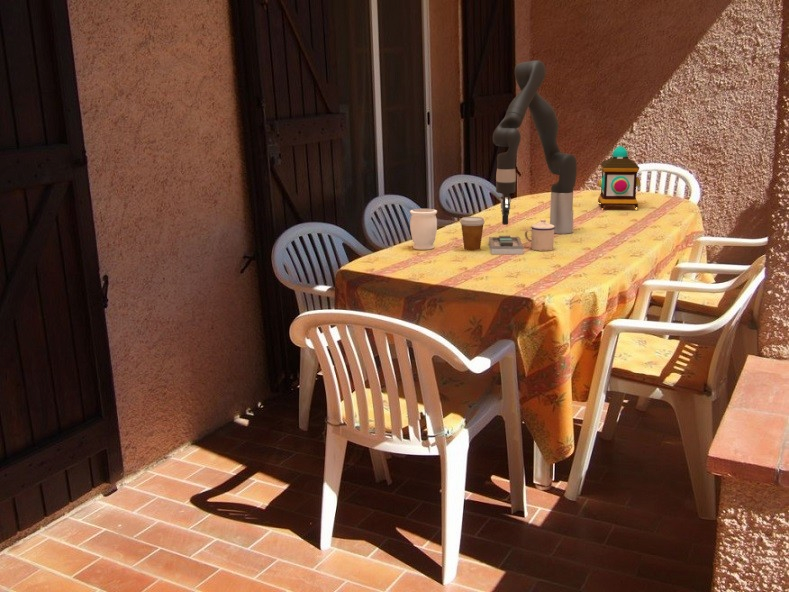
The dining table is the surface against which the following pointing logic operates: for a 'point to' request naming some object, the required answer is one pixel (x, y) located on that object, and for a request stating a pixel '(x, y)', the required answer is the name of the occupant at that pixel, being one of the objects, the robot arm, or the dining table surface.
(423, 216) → the jar
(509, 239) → the teal rectangular box
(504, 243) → the dark taupe block
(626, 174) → the decorative lantern
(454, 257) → the dining table surface
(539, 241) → the teacup with lid
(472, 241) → the disposable coffee cup
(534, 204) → the dining table surface
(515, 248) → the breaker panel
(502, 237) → the grey rectangular prism
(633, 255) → the dining table surface
